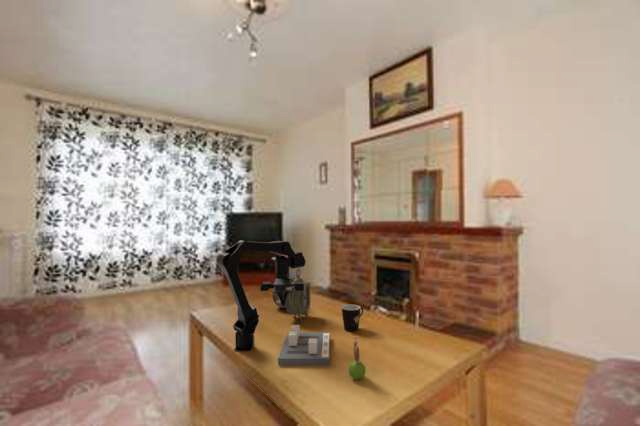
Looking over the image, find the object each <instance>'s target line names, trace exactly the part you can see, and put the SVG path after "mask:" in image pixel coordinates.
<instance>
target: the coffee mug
mask: <svg viewBox="0 0 640 426" xmlns="http://www.w3.org/2000/svg"><path fill="white" fill-rule="evenodd" d="M341 313H342V315H341V316H342V322H343V330H344V331H346V332H348V333H354V332H355V333H356V332H358V331H359V326H360V325H359V324H360V319H361V317H362V315H363V313H364V308H363V307H361V306H360V305H357V304H344V305H342V306H341Z"/></svg>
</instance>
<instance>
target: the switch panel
mask: <svg viewBox="0 0 640 426" xmlns="http://www.w3.org/2000/svg"><path fill="white" fill-rule="evenodd" d="M286 333H287V334H285V339H284V341H283V344H282V345H281V349H280V351H279V355H278V357H277V366H286V367H287V366H296V367H297V366H298V367H299V366H301V367H302V366H303V367H305V366H308V367H309V366H310V367H311V366H312V367H313V366H315V367H316V366H318V367H320V366H324V367H325V366H327V367H329V366H330V359H331V357H330V354H331V333H330V332H300V335H299V338H298V342H297V346H289V333H290V332H286ZM309 338H317V354H309V348H308V342H309Z"/></svg>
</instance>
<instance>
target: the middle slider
mask: <svg viewBox="0 0 640 426" xmlns="http://www.w3.org/2000/svg"><path fill="white" fill-rule="evenodd" d="M288 333H289V346H297V342H298V331H291V330H290V331H289V332H288Z"/></svg>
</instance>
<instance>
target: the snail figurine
mask: <svg viewBox="0 0 640 426" xmlns="http://www.w3.org/2000/svg"><path fill="white" fill-rule="evenodd" d="M357 338H358V337H357V336H356V337H355V336H354V337H353V338H352V339H353V357H354V361H352V362H350V364H349V367H348V374H349V376H350V377H351V378H352V379H354V380H361V379H363V378H364V376H365V375H366V372H367V371H366V370H367V369H366V366H365V365H364V363H363V362H362V361H360V348H359V346H358V342H357Z"/></svg>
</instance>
